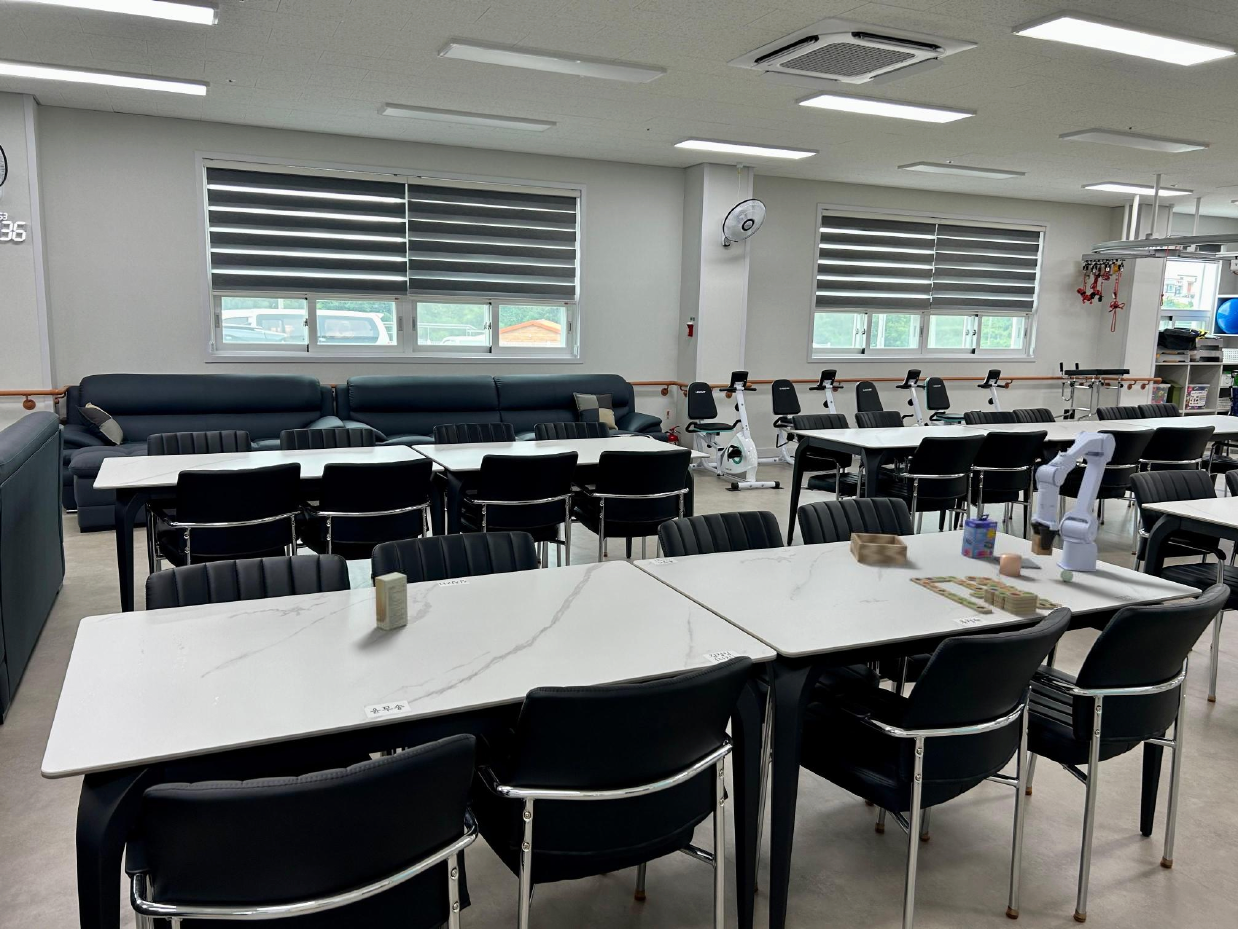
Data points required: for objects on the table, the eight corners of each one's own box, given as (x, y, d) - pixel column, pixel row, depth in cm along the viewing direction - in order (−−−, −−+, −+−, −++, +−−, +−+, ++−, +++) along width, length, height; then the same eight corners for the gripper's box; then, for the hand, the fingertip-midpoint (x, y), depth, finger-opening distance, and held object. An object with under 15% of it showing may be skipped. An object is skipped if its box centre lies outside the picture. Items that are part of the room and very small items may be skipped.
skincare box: (397, 620, 213) (396, 571, 211) (408, 624, 210) (408, 575, 208) (374, 626, 208) (374, 576, 206) (385, 631, 205) (385, 580, 203)
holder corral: (895, 552, 295) (896, 535, 294) (905, 564, 280) (907, 546, 279) (850, 550, 296) (851, 533, 296) (857, 562, 282) (859, 543, 281)
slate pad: (1028, 560, 292) (1028, 558, 291) (1040, 568, 281) (1040, 567, 281) (993, 558, 292) (993, 556, 292) (1005, 566, 282) (1005, 565, 282)
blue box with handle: (972, 558, 291) (977, 516, 289) (960, 554, 296) (964, 512, 294) (994, 556, 295) (999, 514, 293) (982, 552, 300) (986, 510, 298)
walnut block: (1046, 552, 273) (1047, 534, 273) (1051, 555, 269) (1053, 538, 268) (1031, 551, 274) (1032, 534, 273) (1036, 555, 269) (1038, 537, 269)
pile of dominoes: (1070, 612, 239) (1072, 592, 238) (987, 619, 231) (989, 598, 230) (982, 576, 271) (984, 559, 271) (907, 581, 263) (908, 563, 262)
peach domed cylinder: (1016, 572, 276) (1017, 553, 275) (1022, 577, 270) (1024, 558, 269) (996, 571, 277) (998, 552, 276) (1002, 576, 271) (1004, 557, 270)
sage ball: (1069, 580, 269) (1071, 568, 268) (1074, 583, 265) (1075, 572, 265) (1057, 579, 269) (1059, 568, 269) (1062, 582, 266) (1063, 571, 265)
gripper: (1024, 499, 277) (1020, 541, 279) (1042, 508, 262) (1038, 553, 264) (1048, 500, 276) (1043, 542, 278) (1067, 509, 262) (1062, 554, 264)
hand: (1042, 547), depth 271 cm, fingers closed on walnut block, 4 cm apart
